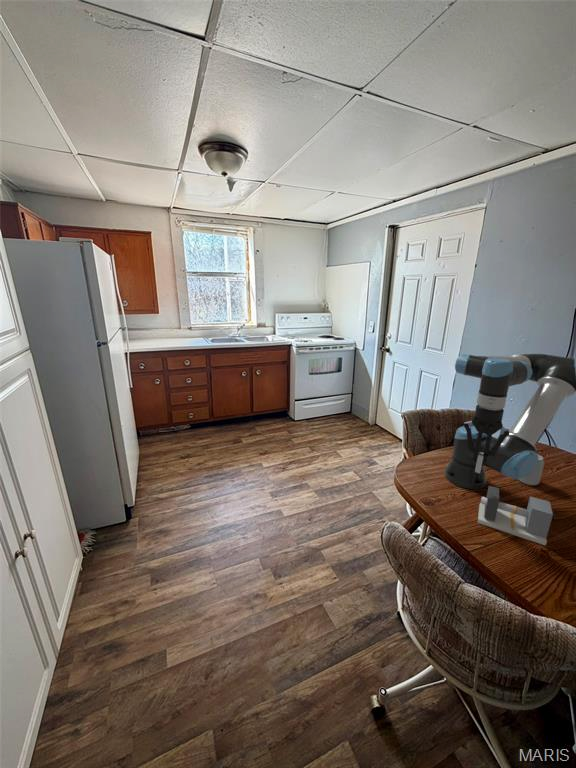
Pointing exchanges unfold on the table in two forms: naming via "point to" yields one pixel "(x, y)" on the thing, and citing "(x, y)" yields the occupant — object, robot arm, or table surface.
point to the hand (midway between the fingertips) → (477, 470)
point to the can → (534, 473)
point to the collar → (491, 503)
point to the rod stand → (521, 519)
